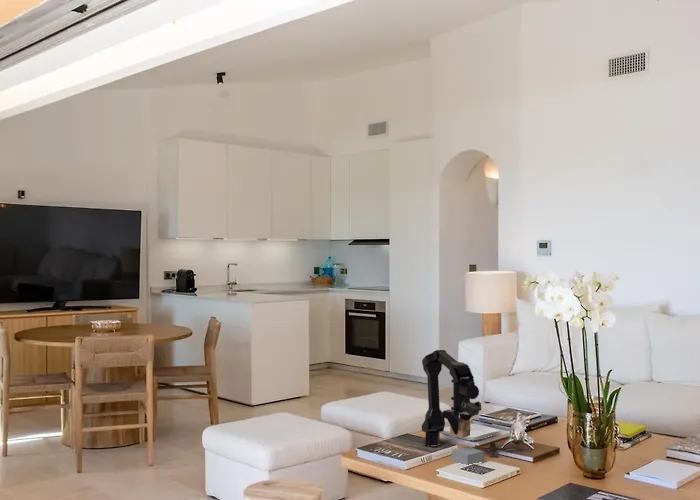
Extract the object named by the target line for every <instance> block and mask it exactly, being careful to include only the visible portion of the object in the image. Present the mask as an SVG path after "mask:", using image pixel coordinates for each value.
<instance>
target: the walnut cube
mask: <svg viewBox="0 0 700 500" xmlns="http://www.w3.org/2000/svg"><path fill="white" fill-rule="evenodd" d="M470 423H471V420H464V419H461V420H460V421H459V423H458V433H457V434H454V432H453V429H452V427H451V425H450V424H449V426H450V437H452V436H455V437H454V438H456V437H460V438H464V437H467V436H470ZM460 438H459V439H460Z"/></svg>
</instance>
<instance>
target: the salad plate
mask: <svg viewBox="0 0 700 500" xmlns="http://www.w3.org/2000/svg"><path fill="white" fill-rule="evenodd" d="M472 430H476V431H482V432H489V433H487V434H483V435H480V436H477V437H470V436H467V437H464V438H463V439H462V440H464V439H467V440H466V441H468V440H472V441H471V442H475V441H474V440H477V441H479V440H478V439H481V440H483V439H482V438H484V439H486V438H485V437H488V436H491V435H494V436H496V435H498V434H500V432H501V431H502V430H501V429H498V428H493V427H489V426H485V425H482V424H476V423H473V422H472V423H471V422H470V431H472ZM441 434H445V435H446V434H447V435H446V436H449V435H450V425H448V426H444V431H443V432H441ZM495 434H496V435H495ZM491 437H492V436H491ZM488 438H489V437H488ZM458 439H460V437H459V438H458Z"/></svg>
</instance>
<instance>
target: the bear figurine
mask: <svg viewBox="0 0 700 500" xmlns="http://www.w3.org/2000/svg"><path fill="white" fill-rule="evenodd" d="M471 448H474V449H477V450H483V451H484V450H487V451H489V457H490V458H491V459H493V458H495V459H498V458H499V452H498V451H503V450H506V449H512V447H509V448H505V447H502V448H500V447H499V446H497V445H496V443H495V442H494V441H492V442H490V443H489V445H488V446H487V447H484V446H483V447H482V446H478V445H474V446H472V447H471Z"/></svg>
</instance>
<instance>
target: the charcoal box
mask: <svg viewBox="0 0 700 500" xmlns="http://www.w3.org/2000/svg"><path fill="white" fill-rule="evenodd" d="M451 462H452V463H455V464H458V463H461V464H466V465H469V464H473V463H479V462H483V463H484V450H483V451H482V449H474V448H472V447H470V446H468V445H466V446H464V447H463V446H462V447H459V448H454V449H451ZM461 464H460V465H461Z"/></svg>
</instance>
